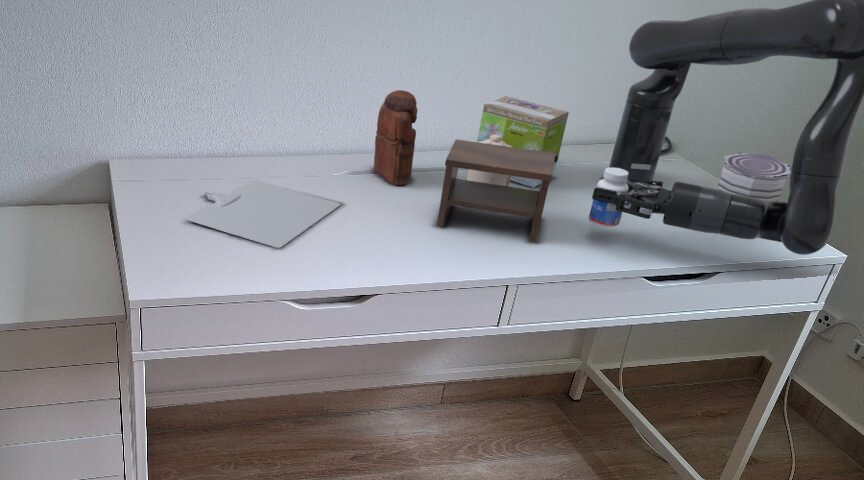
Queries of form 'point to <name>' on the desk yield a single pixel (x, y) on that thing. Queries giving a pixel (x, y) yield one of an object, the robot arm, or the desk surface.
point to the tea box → (524, 128)
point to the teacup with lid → (487, 176)
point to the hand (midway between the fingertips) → (596, 188)
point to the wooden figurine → (396, 137)
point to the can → (753, 176)
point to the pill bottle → (607, 212)
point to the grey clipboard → (263, 213)
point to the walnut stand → (491, 194)
